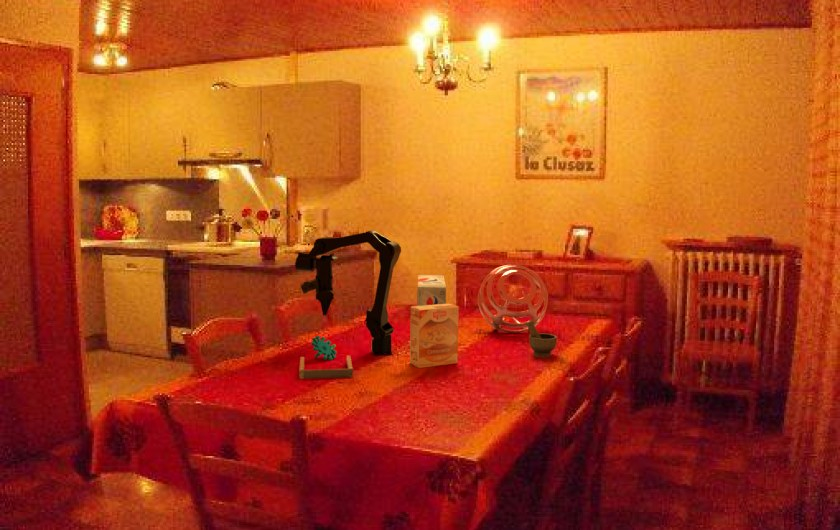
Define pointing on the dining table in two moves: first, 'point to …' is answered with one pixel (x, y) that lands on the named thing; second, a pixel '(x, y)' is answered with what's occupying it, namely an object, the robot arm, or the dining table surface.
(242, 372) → the dining table surface
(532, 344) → the mortar and pestle
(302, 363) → the mount cradle
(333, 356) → the gear
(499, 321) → the spiral basket
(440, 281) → the soda pack
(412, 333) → the coffeecake box
